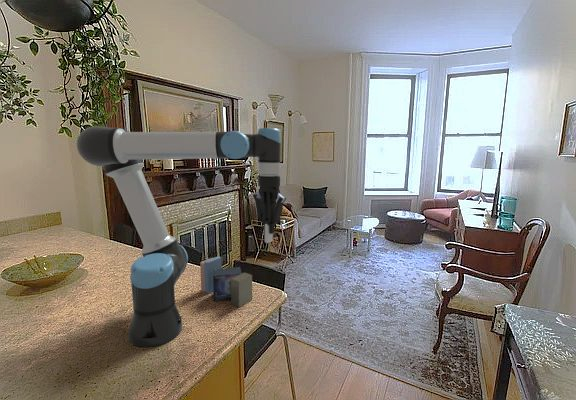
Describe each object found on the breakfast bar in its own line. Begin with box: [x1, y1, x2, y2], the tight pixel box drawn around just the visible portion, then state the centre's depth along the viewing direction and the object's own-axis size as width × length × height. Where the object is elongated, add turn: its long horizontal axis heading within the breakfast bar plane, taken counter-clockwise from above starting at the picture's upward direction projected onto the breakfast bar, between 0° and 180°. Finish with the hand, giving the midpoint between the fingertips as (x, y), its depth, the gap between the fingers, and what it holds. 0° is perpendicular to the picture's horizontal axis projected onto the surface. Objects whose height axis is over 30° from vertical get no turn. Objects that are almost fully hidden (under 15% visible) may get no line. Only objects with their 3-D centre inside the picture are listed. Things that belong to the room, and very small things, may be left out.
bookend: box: [230, 271, 253, 308], centre depth 109 cm, size 7×4×10 cm, turn 145°
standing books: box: [199, 256, 223, 295], centre depth 119 cm, size 7×5×13 cm, turn 145°
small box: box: [212, 266, 243, 302], centre depth 114 cm, size 11×6×10 cm, turn 106°
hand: (268, 241), depth 104 cm, fingers closed
